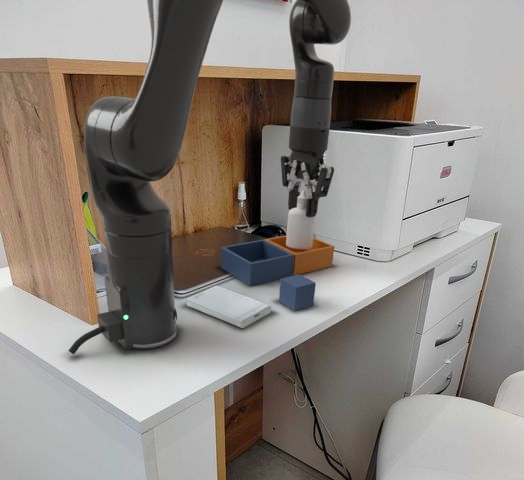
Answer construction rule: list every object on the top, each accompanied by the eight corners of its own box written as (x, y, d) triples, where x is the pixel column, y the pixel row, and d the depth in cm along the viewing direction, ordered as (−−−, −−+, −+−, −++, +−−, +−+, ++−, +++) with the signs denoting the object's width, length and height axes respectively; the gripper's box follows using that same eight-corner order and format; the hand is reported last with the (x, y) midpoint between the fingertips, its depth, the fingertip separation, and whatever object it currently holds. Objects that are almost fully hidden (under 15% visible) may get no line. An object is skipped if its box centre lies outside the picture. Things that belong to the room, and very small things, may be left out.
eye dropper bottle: (294, 241, 110) (299, 186, 103) (315, 248, 107) (321, 191, 100) (282, 246, 107) (286, 189, 100) (303, 252, 104) (309, 194, 97)
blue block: (294, 311, 88) (296, 287, 85) (278, 301, 91) (280, 278, 88) (313, 305, 90) (315, 282, 88) (297, 296, 93) (299, 274, 91)
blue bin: (250, 285, 96) (250, 264, 94) (220, 267, 103) (221, 247, 101) (292, 275, 102) (294, 254, 99) (262, 259, 109) (263, 239, 107)
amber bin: (293, 275, 102) (295, 254, 100) (263, 259, 109) (264, 239, 107) (331, 266, 108) (334, 246, 105) (300, 251, 115) (302, 232, 112)
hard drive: (186, 298, 86) (241, 320, 80) (217, 284, 92) (271, 304, 86) (186, 307, 87) (241, 329, 81) (217, 292, 93) (271, 312, 87)
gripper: (271, 119, 97) (266, 206, 106) (320, 129, 87) (310, 225, 96) (301, 118, 101) (294, 203, 110) (350, 128, 91) (338, 220, 100)
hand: (301, 212), depth 103 cm, fingers closed on eye dropper bottle, 5 cm apart
